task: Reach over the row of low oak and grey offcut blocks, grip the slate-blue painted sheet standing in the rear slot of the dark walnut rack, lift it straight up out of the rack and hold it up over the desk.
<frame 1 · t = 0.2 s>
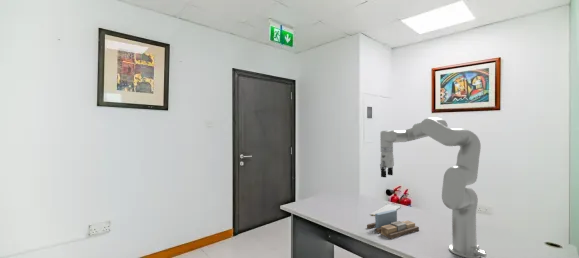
hand: (386, 176, 157), 30 cm above the table, tool pointing down, fingers open, 9 cm apart
offcut a: (407, 229, 146), on the table
offcut b: (398, 231, 142), on the table
baseboard molding: (385, 211, 180), on the table
offcut c: (389, 234, 139), on the table
tall sheet: (386, 226, 150), on the table
offcut rack: (386, 226, 150), on the table
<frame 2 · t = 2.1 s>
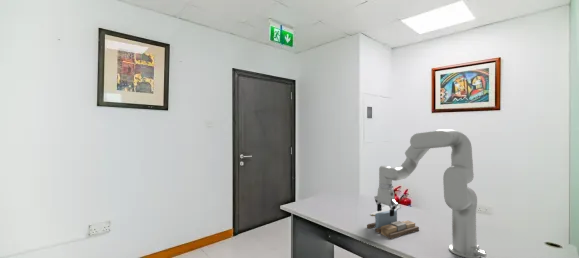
hand: (385, 213, 151), 8 cm above the table, tool pointing down, fingers open, 9 cm apart
nothing on the table moved.
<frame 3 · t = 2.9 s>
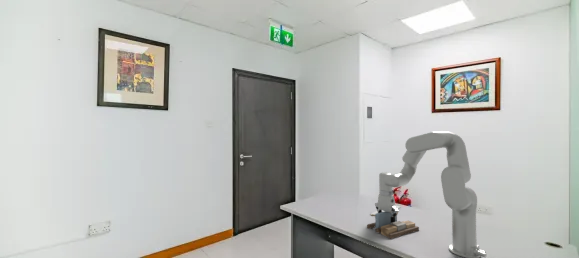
hand: (386, 220, 150), 4 cm above the table, tool pointing down, fingers open, 9 cm apart
nothing on the table moved.
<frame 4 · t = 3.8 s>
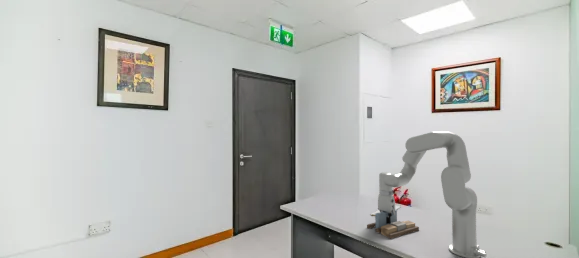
hand: (386, 222, 150), 3 cm above the table, tool pointing down, fingers closed on tall sheet, 2 cm apart
tall sheet: (386, 226, 150), on the table, touching gripper
everything else where it was.
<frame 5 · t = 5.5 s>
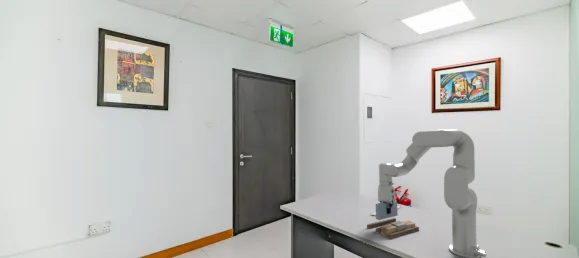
hand: (386, 212, 150), 9 cm above the table, tool pointing down, fingers closed on tall sheet, 2 cm apart
tall sheet: (387, 217, 150), point 6 cm above the table, touching gripper
everything else where it was.
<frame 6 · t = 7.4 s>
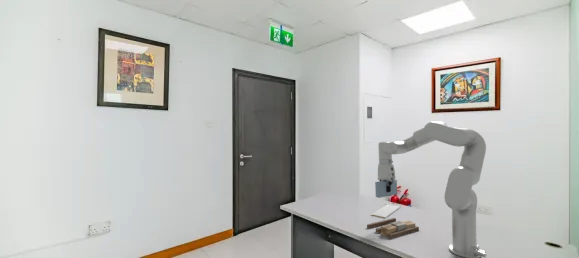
hand: (386, 191, 150), 22 cm above the table, tool pointing down, fingers closed on tall sheet, 2 cm apart
tall sheet: (386, 195, 150), point 19 cm above the table, touching gripper
everything else where it was.
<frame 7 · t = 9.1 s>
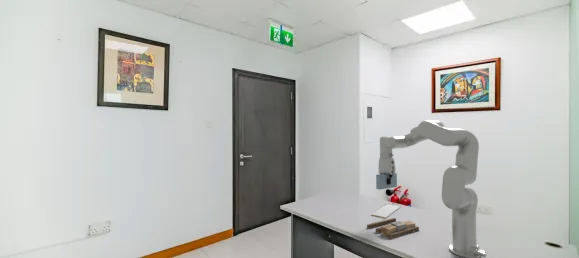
hand: (386, 183, 157), 25 cm above the table, tool pointing down, fingers closed on tall sheet, 2 cm apart
tall sheet: (386, 187, 157), point 22 cm above the table, touching gripper
everything else where it was.
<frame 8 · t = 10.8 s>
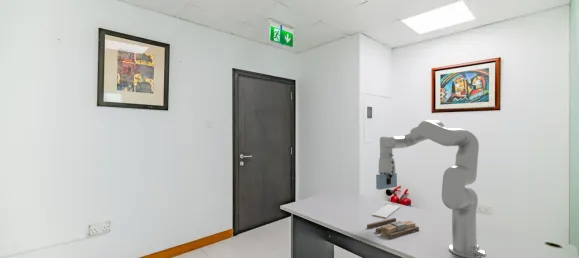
hand: (386, 183, 157), 25 cm above the table, tool pointing down, fingers closed on tall sheet, 2 cm apart
tall sheet: (386, 187, 157), point 22 cm above the table, touching gripper
everything else where it was.
at the end: tall sheet point 22.4 cm above the table; the gripper is holding tall sheet; offcut b moved 0.2 cm from its start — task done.
